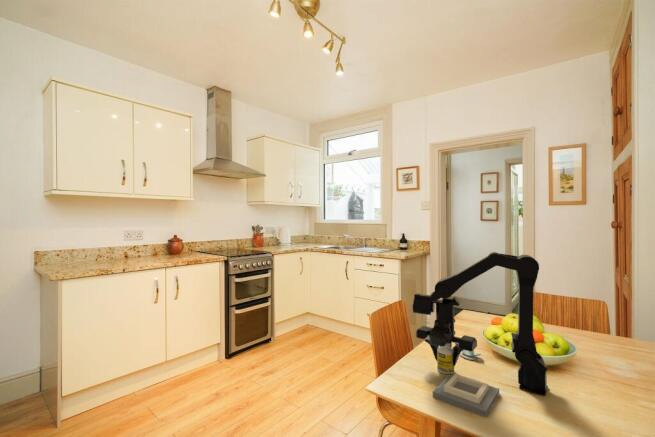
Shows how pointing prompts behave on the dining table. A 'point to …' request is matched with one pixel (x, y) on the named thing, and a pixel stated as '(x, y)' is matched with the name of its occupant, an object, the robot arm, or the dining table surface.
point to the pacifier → (469, 354)
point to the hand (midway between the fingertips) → (445, 363)
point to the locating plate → (467, 394)
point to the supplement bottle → (445, 359)
